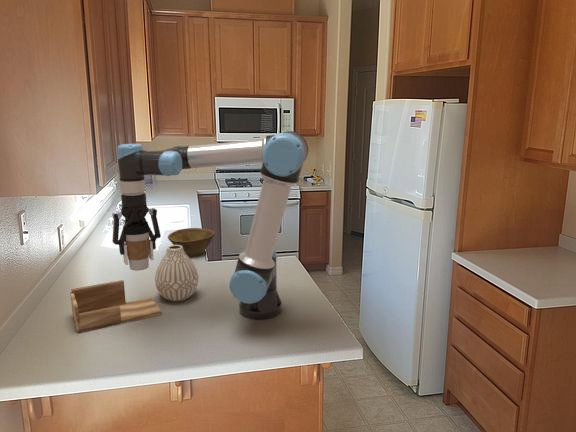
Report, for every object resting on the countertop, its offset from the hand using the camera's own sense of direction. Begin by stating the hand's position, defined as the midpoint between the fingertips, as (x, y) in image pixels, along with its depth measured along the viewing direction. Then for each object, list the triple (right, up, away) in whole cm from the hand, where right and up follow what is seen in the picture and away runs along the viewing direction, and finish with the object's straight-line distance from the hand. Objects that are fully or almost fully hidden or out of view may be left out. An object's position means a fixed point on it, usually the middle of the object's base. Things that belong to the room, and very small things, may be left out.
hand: (138, 261), depth 153 cm
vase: (+7, -16, +24) cm, 30 cm away
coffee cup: (0, -2, +1) cm, 2 cm away
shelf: (-10, -20, +9) cm, 24 cm away
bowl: (+2, -4, +75) cm, 75 cm away
